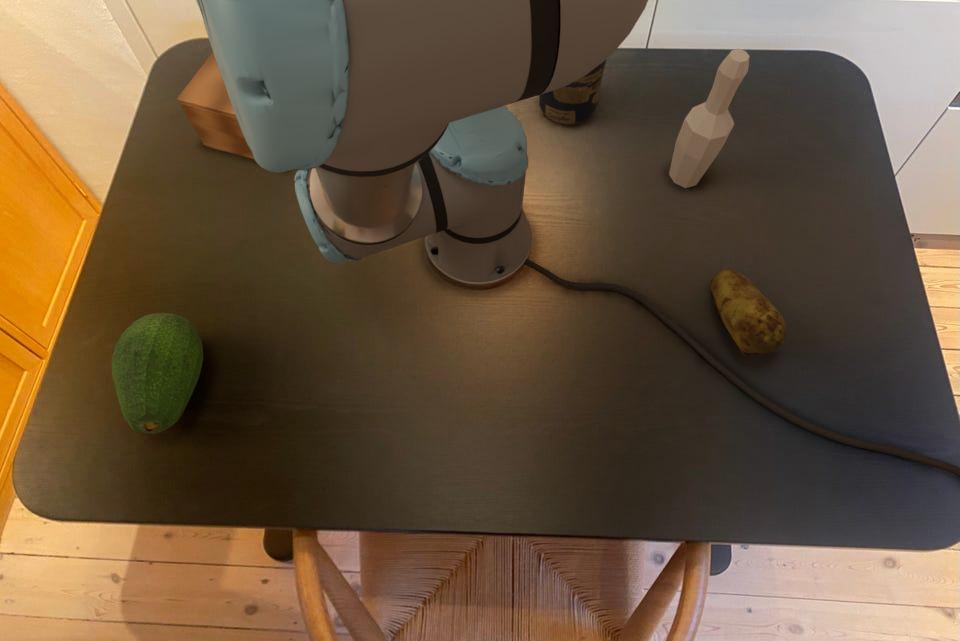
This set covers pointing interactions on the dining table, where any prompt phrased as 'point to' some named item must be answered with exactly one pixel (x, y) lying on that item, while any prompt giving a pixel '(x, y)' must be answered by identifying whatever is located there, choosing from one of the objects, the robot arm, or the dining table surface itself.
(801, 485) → the dining table surface
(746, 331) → the potato
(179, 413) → the fruit
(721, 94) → the bowling pin
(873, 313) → the dining table surface
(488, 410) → the dining table surface
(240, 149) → the cabinet
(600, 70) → the canister
